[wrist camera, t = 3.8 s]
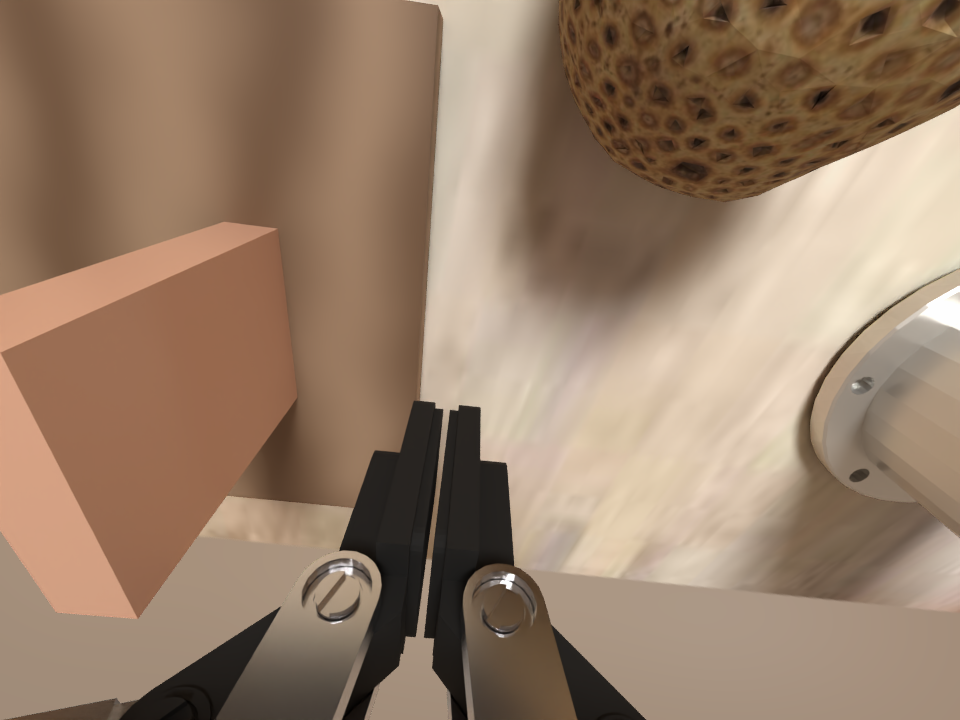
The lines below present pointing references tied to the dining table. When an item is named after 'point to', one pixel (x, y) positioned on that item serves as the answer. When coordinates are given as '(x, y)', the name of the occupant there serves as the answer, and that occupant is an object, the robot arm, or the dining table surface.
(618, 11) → the natural sponge
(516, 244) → the dining table surface
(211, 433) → the tile
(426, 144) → the board
